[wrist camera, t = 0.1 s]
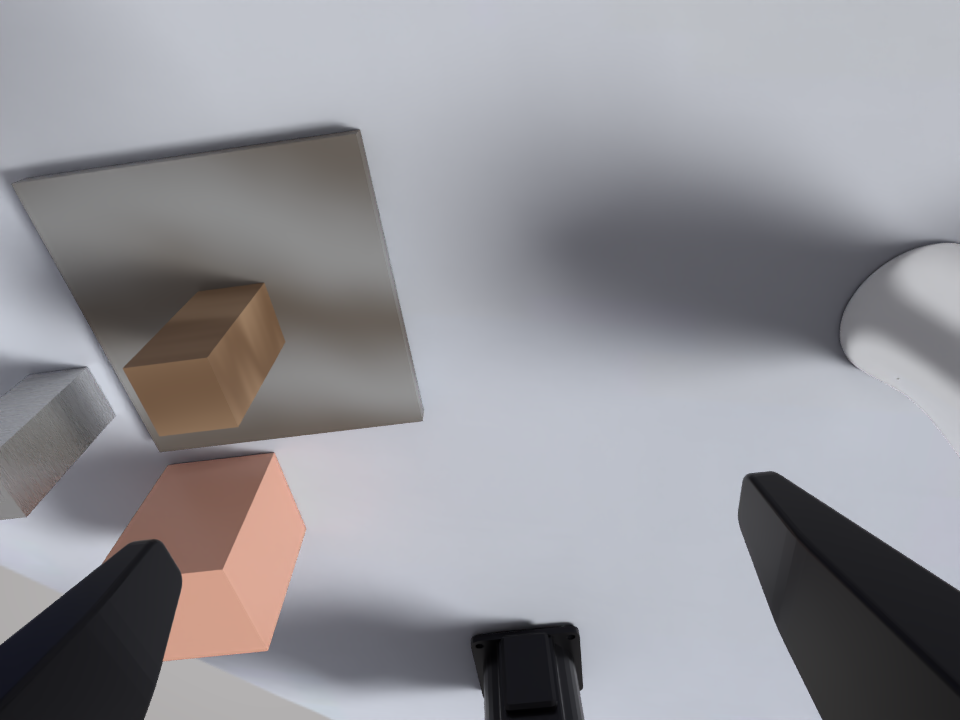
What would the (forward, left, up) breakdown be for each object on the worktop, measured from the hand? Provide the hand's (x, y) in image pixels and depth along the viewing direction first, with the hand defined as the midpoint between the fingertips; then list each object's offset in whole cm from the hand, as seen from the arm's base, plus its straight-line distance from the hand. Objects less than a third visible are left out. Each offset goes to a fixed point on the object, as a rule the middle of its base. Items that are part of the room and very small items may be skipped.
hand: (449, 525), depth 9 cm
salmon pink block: (-12, +13, -15) cm, 23 cm away
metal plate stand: (-2, +9, -15) cm, 17 cm away
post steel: (-5, +18, -15) cm, 24 cm away
